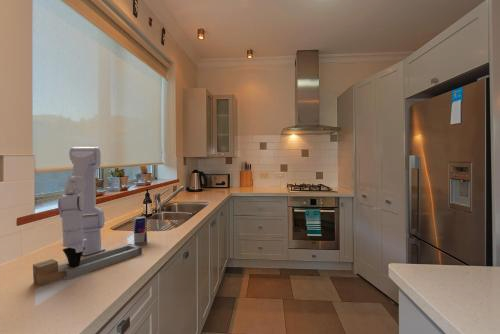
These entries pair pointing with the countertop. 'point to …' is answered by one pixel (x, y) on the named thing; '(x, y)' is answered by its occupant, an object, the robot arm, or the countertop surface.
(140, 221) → the energy drink
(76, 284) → the countertop surface
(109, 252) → the channel
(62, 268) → the block
